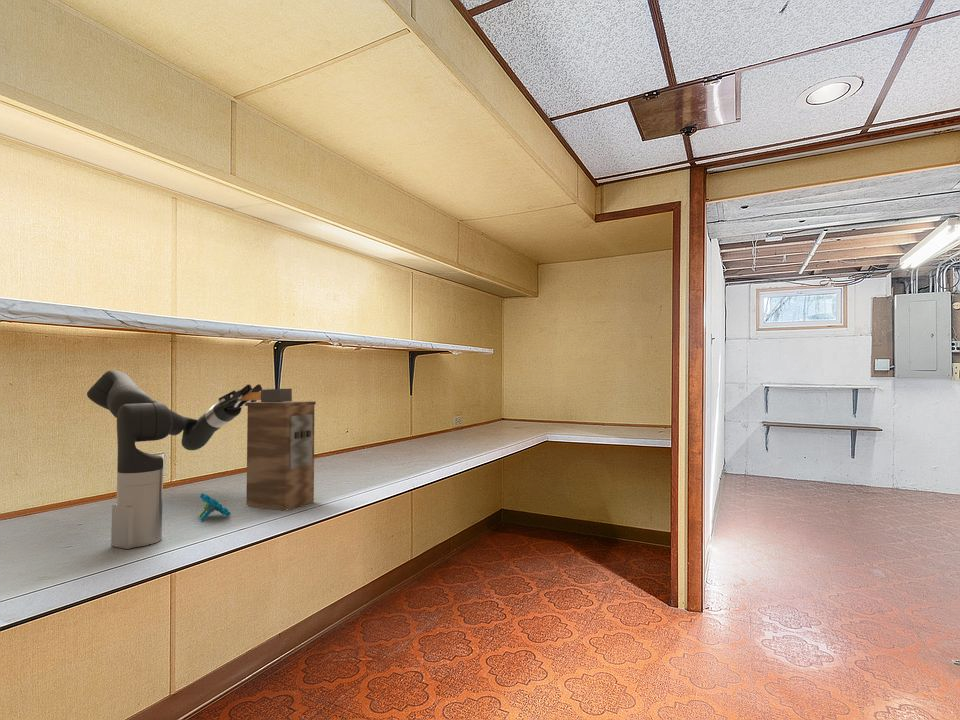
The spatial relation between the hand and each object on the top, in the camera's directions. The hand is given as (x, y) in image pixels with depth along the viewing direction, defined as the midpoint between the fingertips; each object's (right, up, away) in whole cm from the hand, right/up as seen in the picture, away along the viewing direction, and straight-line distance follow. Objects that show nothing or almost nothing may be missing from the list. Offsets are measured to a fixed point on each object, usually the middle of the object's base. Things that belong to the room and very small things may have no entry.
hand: (255, 386), depth 163 cm
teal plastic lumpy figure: (-2, -36, -22) cm, 43 cm away
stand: (+11, -37, -7) cm, 39 cm away
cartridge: (+5, -5, -2) cm, 7 cm away
